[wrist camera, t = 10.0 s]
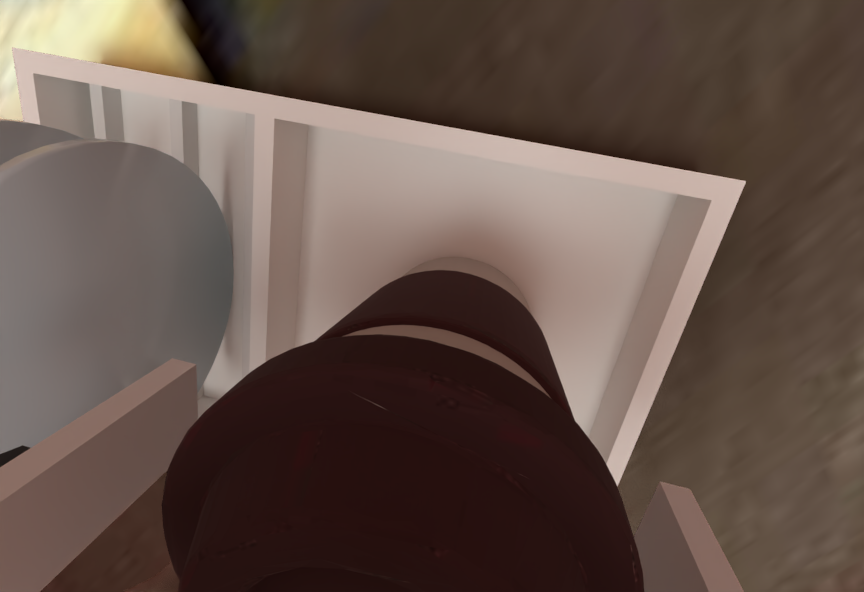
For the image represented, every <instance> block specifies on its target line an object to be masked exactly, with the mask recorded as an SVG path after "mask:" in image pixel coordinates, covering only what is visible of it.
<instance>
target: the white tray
mask: <svg viewBox="0 0 864 592" xmlns="http://www.w3.org/2000/svg"><path fill="white" fill-rule="evenodd" d="M12 51H13V58H14V64H15V70H16V77H17V83H18V90H19V96H20V102H21V109H22V115H23V121H24V122H29V123H34V124H39V125H43V126H47V127H51V128H55V129H59V130H63V131H66V132H68V133H71V134H73V135H76V136H79V137H81V138H84V139H95V138H97V139H108V140H118V141H123V142H128V143H133V144H138V145H142V146H146V147H150V148H154V149H157V150H159V151H161V152H163V153H166V154H168V155H170V156H172V157H174V158H175V159H177V160H179V161H180V162H182V163H183V164H185V165H186V166H187V167H189V168H190V169H191V170H192V171H193V172H194V173H195V174H196V175H198V176H199V178H200V179H201V180H202V181H203V182H204V184H205V185H206V186H207V187H208V188H209V190H210V192H211V193H212V195H213V196H214V198H215V199H216V201H217V203H218V205H219V207H220V209H221V212H222V214H223V216H224V219H225V222H226V225H227V228H228V232H229V236H230V241H231V246H232V254H233V270H234V278H233V293H232V301H231V308H230V313H229V318H228V322H227V326H226V330H225V333H224V337H223V340H222V342H221V345H220V348H219V351H218V354H217V356H216V358H215V361H214V363H213V365H212V368H211V370H210V372H209V374H208V376H207V378H206V379H205V381H204V383H203V385H202V387H201V389H200V390H199V392H198V394H197V403H198V419H199V417H200V416H201V415H202V414H203V413H204V412H205V411H206V410H207V409H208V408H210V407H211V406H212V405H213V404H214V403H215V402H216V401H218V400H219V399H220V398H221V397H222V396H223V395H224V394H226V393H227V392H228V391H229V390H230V389H231V388H232V387H234V386H235V385H236V384H237V383H238V382H239V381H240V380H242V379H243V378H244V377H245V376H246V375H248V374H249V373H250V372H251V371H253V370H254V369H256V368H257V367H259V366H260V365H262V364H263V363H265V362H266V361H268V360H269V359H271V358H273V357H275V356H278V355H280V354H282V353H284V352H286V351H288V350H290V349H293V348H296V347H299V346H302V345H305V344H307V343H310V342H314V341H315V340H316V339H318V338H319V337H320V336H321V335H323V334H324V333H325V332H326V331H328V330H329V329H330V328H331V327H333V326H334V325H335V324H336V323H337V322H339V321H340V320H341V319H342V318H344V317H345V316H346V315H347V314H349V313H350V312H351V311H352V310H354V309H355V308H356V307H357V306H359V305H360V304H361V303H362V302H364V301H365V300H366V299H367V298H369V297H370V296H371V295H372V294H373V293H375V292H376V291H378V290H379V289H380V288H382V287H383V286H385V285H387V284H388V283H390V282H392V281H394V280H396V279H398V278H400V277H402V276H403V275H404V274H406V273H407V272H408V271H410V270H411V269H412V268H414V267H416V266H418V265H420V264H422V263H424V262H427V261H429V260H433V259H437V258H443V257H464V258H470V259H474V260H478V261H481V262H484V263H486V264H488V265H491V266H492V267H494V268H496V269H498V270H499V271H501V272H502V273H503V274H505V275H506V276H507V277H508V278H510V279H511V280H512V281H513V282H514V284H515V285H516V286H517V287H518V288H519V290H520V291H521V292H522V294H523V296H524V297H525V299H526V301H527V303H528V305H529V308H530V311H531V314H532V316H533V317H534V319H535V320H536V322H537V323H538V325H539V327H540V328H541V330H542V332H543V335H544V337H545V339H546V341H547V344H548V347H549V350H550V353H551V355H552V358H553V361H554V364H555V367H556V369H557V372H558V375H559V378H560V380H561V383H562V386H563V389H564V392H565V394H566V397H567V400H568V403H569V406H570V408H571V411H572V414H573V417H574V419H575V422H576V423H577V424H578V425H579V426H580V427H581V429H582V430H583V431H584V433H585V434H586V435H587V436H588V438H589V439H590V440H591V442H592V443H593V444H594V446H595V447H596V448H597V450H598V451H599V453H600V454H601V456H602V457H603V459H604V461H605V463H606V465H607V467H608V469H609V471H610V472H611V474H612V476H613V478H614V480H615V482H616V485H617V486H618V484H619V482H620V479H621V477H622V474H623V472H624V470H625V467H626V465H627V463H628V460H629V458H630V456H631V453H632V451H633V448H634V446H635V444H636V441H637V439H638V437H639V434H640V432H641V429H642V427H643V425H644V422H645V420H646V418H647V415H648V413H649V410H650V408H651V406H652V403H653V401H654V399H655V396H656V394H657V391H658V389H659V387H660V384H661V382H662V380H663V377H664V375H665V373H666V370H667V368H668V365H669V363H670V361H671V358H672V356H673V354H674V351H675V349H676V346H677V344H678V342H679V339H680V337H681V335H682V332H683V330H684V327H685V325H686V323H687V320H688V318H689V316H690V313H691V311H692V308H693V306H694V304H695V301H696V299H697V297H698V294H699V292H700V290H701V287H702V285H703V282H704V280H705V278H706V275H707V273H708V271H709V268H710V266H711V263H712V261H713V259H714V256H715V254H716V252H717V249H718V247H719V244H720V242H721V240H722V237H723V235H724V233H725V230H726V228H727V225H728V223H729V221H730V218H731V216H732V214H733V211H734V209H735V207H736V204H737V202H738V199H739V197H740V195H741V192H742V190H743V188H744V185H745V183H746V181H742V180H737V179H731V178H726V177H720V176H715V175H709V174H704V173H699V172H693V171H688V170H682V169H677V168H671V167H666V166H660V165H655V164H649V163H644V162H638V161H633V160H627V159H622V158H616V157H611V156H605V155H600V154H594V153H589V152H583V151H578V150H572V149H567V148H561V147H556V146H550V145H545V144H539V143H534V142H528V141H523V140H517V139H512V138H506V137H501V136H495V135H490V134H484V133H479V132H474V131H468V130H463V129H457V128H452V127H446V126H441V125H435V124H430V123H424V122H419V121H413V120H408V119H402V118H397V117H391V116H386V115H380V114H375V113H369V112H364V111H358V110H353V109H347V108H342V107H336V106H331V105H325V104H320V103H314V102H309V101H303V100H298V99H292V98H287V97H281V96H276V95H270V94H265V93H259V92H254V91H248V90H243V89H238V88H232V87H227V86H221V85H216V84H210V83H205V82H199V81H194V80H188V79H183V78H177V77H172V76H166V75H161V74H155V73H150V72H144V71H139V70H133V69H128V68H122V67H117V66H111V65H106V64H100V63H95V62H89V61H84V60H78V59H73V58H67V57H62V56H56V55H51V54H45V53H40V52H34V51H29V50H23V49H18V48H13V47H12Z"/></svg>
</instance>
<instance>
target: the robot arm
mask: <svg viewBox="0 0 864 592" xmlns="http://www.w3.org/2000/svg"><path fill="white" fill-rule="evenodd" d="M197 420H198V403H197V368H196V364H193V363H189V362H185V361H181V360H177V359H173V358H172V359H170V360H169V361H167V362H166V363H164V364H162V365H161V366H159V367H158V368H156V369H154V370H153V371H151V372H150V373H148V374H147V375H145V376H143V377H142V378H140V379H139V380H137V381H136V382H134V383H132V384H131V385H129V386H128V387H126V388H125V389H123V390H121V391H120V392H118V393H117V394H115V395H114V396H112V397H110V398H109V399H107V400H106V401H104V402H102V403H101V404H99V405H98V406H96V407H95V408H93V409H91V410H90V411H88V412H87V413H85V414H84V415H82V416H80V417H79V418H77V419H76V420H74V421H73V422H71V423H69V424H68V425H66V426H65V427H63V428H61V429H60V430H58V431H57V432H55V433H54V434H52V435H50V436H49V437H47V438H46V439H44V440H43V441H41V442H39V443H38V444H36V445H35V446H33V447H32V448H30V447H27V446H23V445H22V446H20V447H17V448H15V449H12V450H9V451H7V452H4V453H2V454H0V592H40V591H41V590H42V589H43V588H44V587H45V586H46V585H47V584H48V583H50V582H51V581H52V580H53V579H54V578H55V577H56V576H57V575H58V574H59V573H60V572H61V571H62V570H63V569H64V568H65V567H66V566H67V565H68V564H69V563H71V562H72V561H73V560H74V559H75V558H76V557H77V556H78V555H79V554H80V553H81V552H82V551H83V550H84V549H85V548H86V547H87V546H88V545H89V544H90V543H92V542H93V541H94V540H95V539H96V538H97V537H98V536H99V535H100V534H101V533H102V532H103V531H104V530H105V529H106V528H107V527H108V526H109V525H110V524H111V523H113V522H114V521H115V520H116V519H117V518H118V517H119V516H120V515H121V514H122V513H123V512H124V511H125V510H126V509H127V508H128V507H129V506H130V505H131V504H132V503H133V502H135V501H136V500H137V499H138V498H139V497H140V496H141V495H142V494H143V493H144V492H145V491H146V490H147V489H148V488H149V487H150V486H151V485H152V484H153V483H154V482H156V481H157V480H158V479H159V478H160V477H161V476H162V475H163V474H164V473H165V472H166V471H167V470H168V468H169V465H170V463H171V461H172V459H173V456H174V454H175V452H176V450H177V448H178V446H179V445H180V443H181V441H182V439H183V438H184V436H185V434H186V433H187V431H188V430H189V429H190V427H191V426H192V425H193V424H194V423H195V422H196V421H197ZM634 540H635V543H636V546H637V549H638V553H639V558H640V562H641V566H642V571H643V581H644V592H744V591H743V589H742V587H741V585H740V583H739V581H738V579H737V577H736V576H735V574H734V572H733V570H732V568H731V566H730V564H729V562H728V560H727V558H726V557H725V555H724V553H723V551H722V549H721V547H720V545H719V543H718V541H717V539H716V537H715V536H714V534H713V532H712V530H711V528H710V526H709V524H708V522H707V520H706V518H705V517H704V515H703V513H702V511H701V509H700V507H699V505H698V503H697V501H696V499H695V497H694V496H693V494H692V492H691V490H690V489H688V488H684V487H680V486H676V485H672V484H668V483H664V482H659V484H658V486H657V488H656V490H655V493H654V495H653V497H652V499H651V501H650V503H649V506H648V508H647V510H646V512H645V514H644V516H643V518H642V521H641V523H640V525H639V527H638V529H637V531H636V533H635V536H634Z"/></svg>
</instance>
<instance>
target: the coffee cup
mask: <svg viewBox="0 0 864 592" xmlns="http://www.w3.org/2000/svg"><path fill="white" fill-rule="evenodd" d="M162 515H163V528H164V535H165V539H166V543H167V547H168V551H169V555H170V558H171V562H172V565H173V568H174V571H175V573H176V575H177V577H178V579H179V581H180V582H179V589H178V592H644V581H643V571H642V566H641V562H640V558H639V553H638V549H637V546H636V543H635V540H634V537H633V533H632V530H631V527H630V524H629V521H628V517H627V514H626V511H625V508H624V505H623V501H622V498H621V496H620V493H619V490H618V488H617V485H616V482H615V480H614V478H613V476H612V474H611V472H610V471H609V469H608V467H607V465H606V463H605V461H604V459H603V457H602V456H601V454H600V453H599V451H598V450H597V448H596V447H595V446H594V444H593V443H592V442H591V440H590V439H589V438H588V436H587V435H586V434H585V433H584V431H583V430H582V429H581V427H580V426H579V425H578V424H577V423H576V422H575V419H574V417H573V414H572V411H571V408H570V406H569V403H568V400H567V397H566V394H565V392H564V389H563V386H562V383H561V380H560V378H559V375H558V372H557V369H556V367H555V364H554V361H553V358H552V355H551V353H550V350H549V347H548V344H547V341H546V339H545V337H544V335H543V332H542V330H541V328H540V327H539V325H538V323H537V322H536V320H535V319H534V317H533V316H532V314H531V311H530V308H529V305H528V303H527V301H526V299H525V297H524V296H523V294H522V292H521V291H520V290H519V288H518V287H517V286H516V285H515V284H514V282H513V281H512V280H511V279H510V278H508V277H507V276H506V275H505V274H503V273H502V272H501V271H499V270H498V269H496V268H494V267H492V266H491V265H488V264H486V263H484V262H481V261H478V260H474V259H470V258H464V257H443V258H437V259H433V260H429V261H427V262H424V263H422V264H420V265H418V266H416V267H414V268H412V269H411V270H410V271H408V272H407V273H406V274H404V275H403V276H402V277H400V278H398V279H396V280H394V281H392V282H390V283H388V284H387V285H385V286H383V287H382V288H380V289H379V290H378V291H376V292H375V293H373V294H372V295H371V296H370V297H369V298H367V299H366V300H365V301H364V302H362V303H361V304H360V305H359V306H357V307H356V308H355V309H354V310H352V311H351V312H350V313H349V314H347V315H346V316H345V317H344V318H342V319H341V320H340V321H339V322H337V323H336V324H335V325H334V326H333V327H331V328H330V329H329V330H328V331H326V332H325V333H324V334H323V335H321V336H320V337H319V338H318V339H316V340H315V341H314V342H310V343H307V344H305V345H302V346H299V347H296V348H293V349H290V350H288V351H286V352H284V353H282V354H280V355H278V356H275V357H273V358H271V359H269V360H268V361H266V362H265V363H263V364H262V365H260V366H259V367H257V368H256V369H254V370H253V371H251V372H250V373H249V374H248V375H246V376H245V377H244V378H243V379H242V380H240V381H239V382H238V383H237V384H236V385H235V386H234V387H232V388H231V389H230V390H229V391H228V392H227V393H226V394H224V395H223V396H222V397H221V398H220V399H219V400H218V401H216V402H215V403H214V404H213V405H212V406H211V407H210V408H208V409H207V410H206V411H205V412H204V413H203V414H202V415H201V416H200V417H199V419H198V420H197V421H196V422H195V423H194V424H193V425H192V426H191V427H190V429H189V430H188V431H187V433H186V434H185V436H184V438H183V439H182V441H181V443H180V445H179V446H178V448H177V450H176V452H175V454H174V456H173V459H172V461H171V463H170V465H169V468H168V472H167V476H166V481H165V488H164V495H163V501H162Z"/></svg>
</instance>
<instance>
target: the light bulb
mask: <svg viewBox="0 0 864 592" xmlns="http://www.w3.org/2000/svg"><path fill="white" fill-rule="evenodd" d="M179 582H180V581H179V579H178V577H177V575H176V573H175V571H174V568H173V565H172V562H170V563H168V564H167V565H166V566H165V567H164V568H163V569H162V570H161V571H160V572H159V573H158V574H156V575H155V576H153V577H151V578H150V579H148V580H146V581H144V582H142V583H139V584H137V585H135V586H133V587H130V588H128V589H127V590H125V591H123V592H178V589H179Z"/></svg>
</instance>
